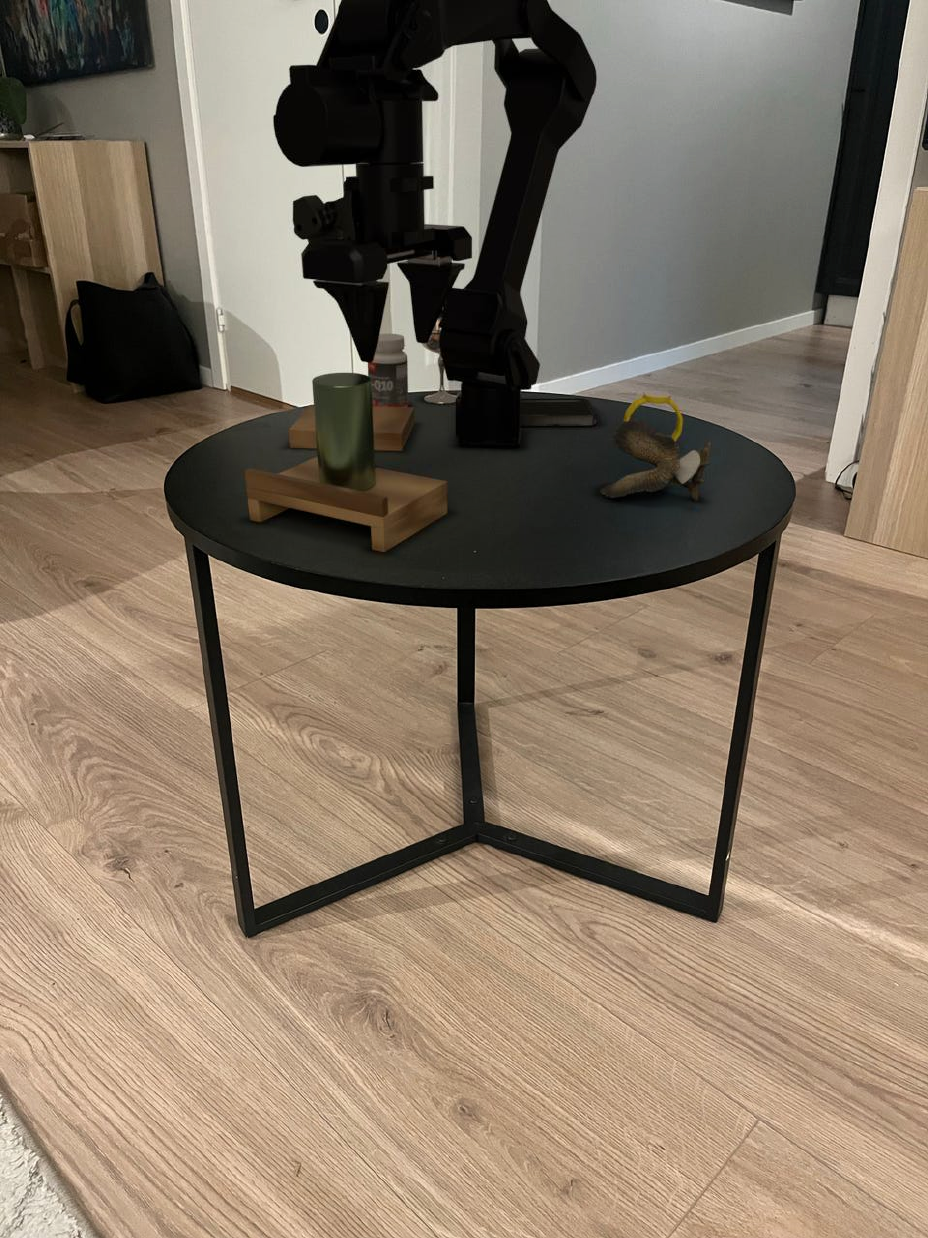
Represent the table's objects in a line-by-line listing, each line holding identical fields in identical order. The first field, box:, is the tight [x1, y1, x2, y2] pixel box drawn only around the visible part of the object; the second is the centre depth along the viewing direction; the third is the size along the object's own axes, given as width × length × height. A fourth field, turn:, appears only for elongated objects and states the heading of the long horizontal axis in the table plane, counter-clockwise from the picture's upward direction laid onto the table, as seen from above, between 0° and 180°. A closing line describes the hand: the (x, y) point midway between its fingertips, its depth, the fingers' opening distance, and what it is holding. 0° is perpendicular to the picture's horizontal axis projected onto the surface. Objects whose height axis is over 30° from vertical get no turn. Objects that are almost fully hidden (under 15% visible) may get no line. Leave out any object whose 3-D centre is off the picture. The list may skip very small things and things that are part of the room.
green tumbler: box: [311, 372, 376, 491], centre depth 80 cm, size 5×5×9 cm
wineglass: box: [420, 302, 457, 405], centre depth 116 cm, size 6×6×12 cm
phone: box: [520, 397, 598, 427], centre depth 111 cm, size 8×1×15 cm
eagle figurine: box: [599, 419, 712, 502], centre depth 87 cm, size 8×7×9 cm
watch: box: [622, 390, 684, 443], centre depth 99 cm, size 6×3×6 cm, turn 89°
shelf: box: [244, 456, 448, 553], centre depth 82 cm, size 10×14×4 cm
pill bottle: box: [367, 333, 409, 407], centre depth 113 cm, size 5×5×8 cm
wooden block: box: [288, 404, 415, 452], centre depth 104 cm, size 12×10×2 cm
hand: (395, 351), depth 87 cm, fingers open, 9 cm apart
